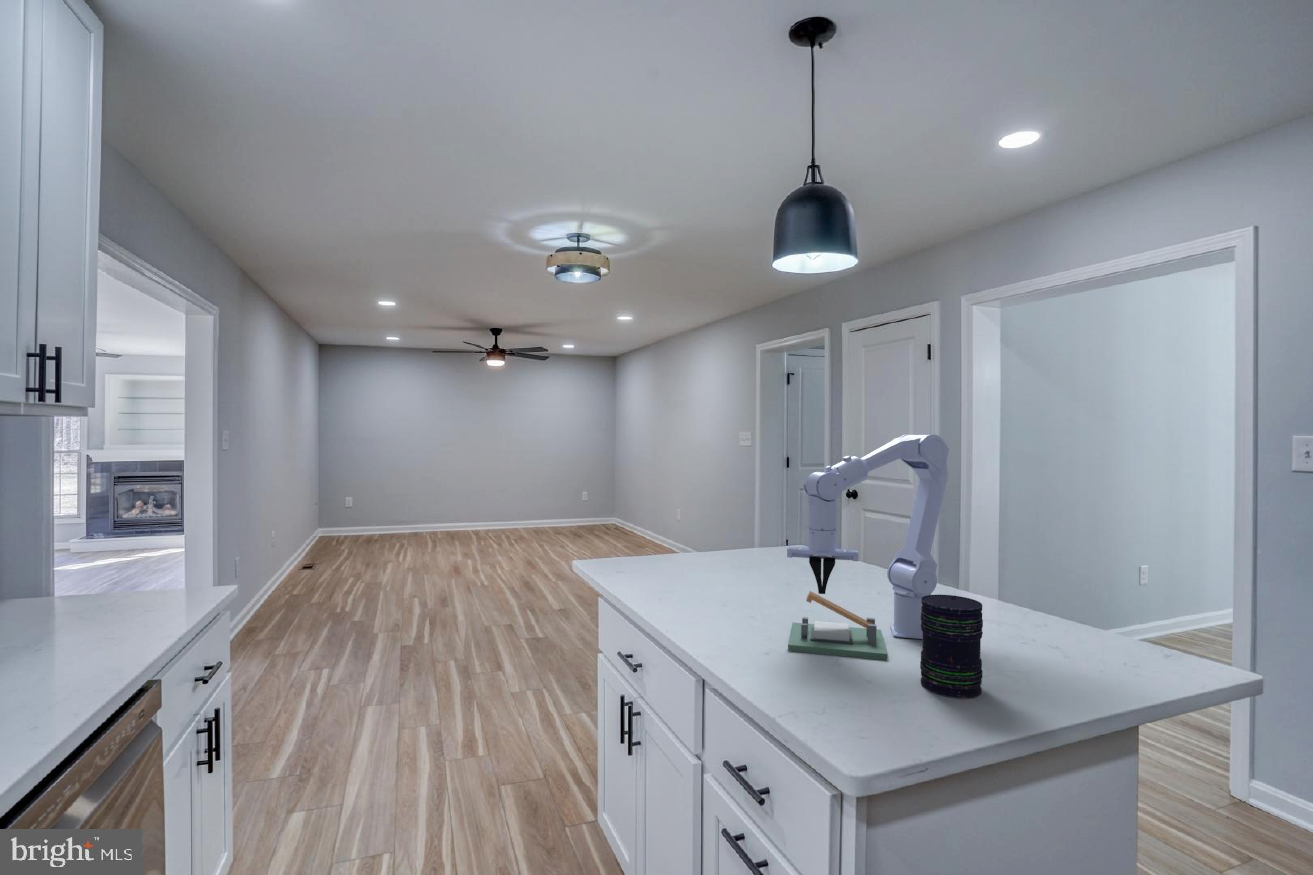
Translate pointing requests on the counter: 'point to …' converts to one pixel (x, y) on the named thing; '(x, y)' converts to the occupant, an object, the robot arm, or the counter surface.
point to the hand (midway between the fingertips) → (821, 592)
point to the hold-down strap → (837, 609)
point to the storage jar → (951, 646)
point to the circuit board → (839, 648)
